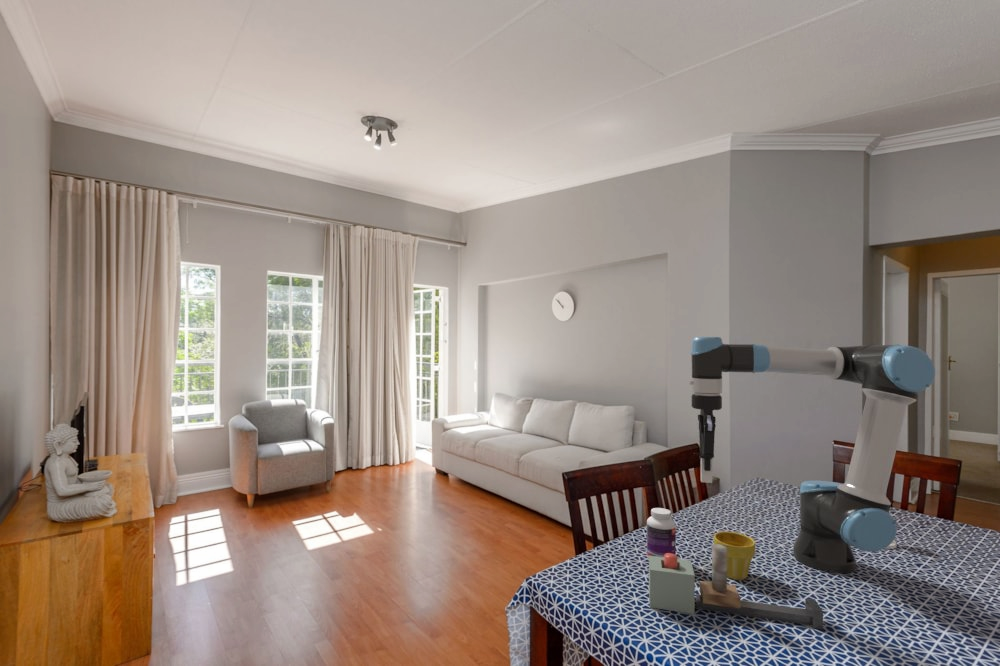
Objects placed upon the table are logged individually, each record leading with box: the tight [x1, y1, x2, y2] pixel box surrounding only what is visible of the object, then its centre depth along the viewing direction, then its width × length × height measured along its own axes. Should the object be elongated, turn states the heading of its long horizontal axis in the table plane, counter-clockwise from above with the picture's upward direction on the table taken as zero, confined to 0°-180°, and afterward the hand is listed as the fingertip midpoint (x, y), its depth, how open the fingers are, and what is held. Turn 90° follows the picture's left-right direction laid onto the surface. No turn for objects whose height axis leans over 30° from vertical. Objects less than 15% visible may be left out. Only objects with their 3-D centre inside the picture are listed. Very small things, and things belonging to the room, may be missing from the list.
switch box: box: [648, 556, 696, 615], centre depth 119 cm, size 10×8×9 cm
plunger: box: [664, 553, 678, 570], centre depth 119 cm, size 3×3×4 cm
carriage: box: [699, 544, 741, 608], centre depth 116 cm, size 8×6×12 cm
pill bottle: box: [646, 507, 677, 560], centre depth 141 cm, size 8×8×14 cm
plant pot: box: [713, 530, 756, 581], centre depth 133 cm, size 10×10×10 cm
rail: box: [695, 593, 824, 630], centre depth 114 cm, size 26×5×4 cm, turn 75°
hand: (706, 481), depth 130 cm, fingers closed
